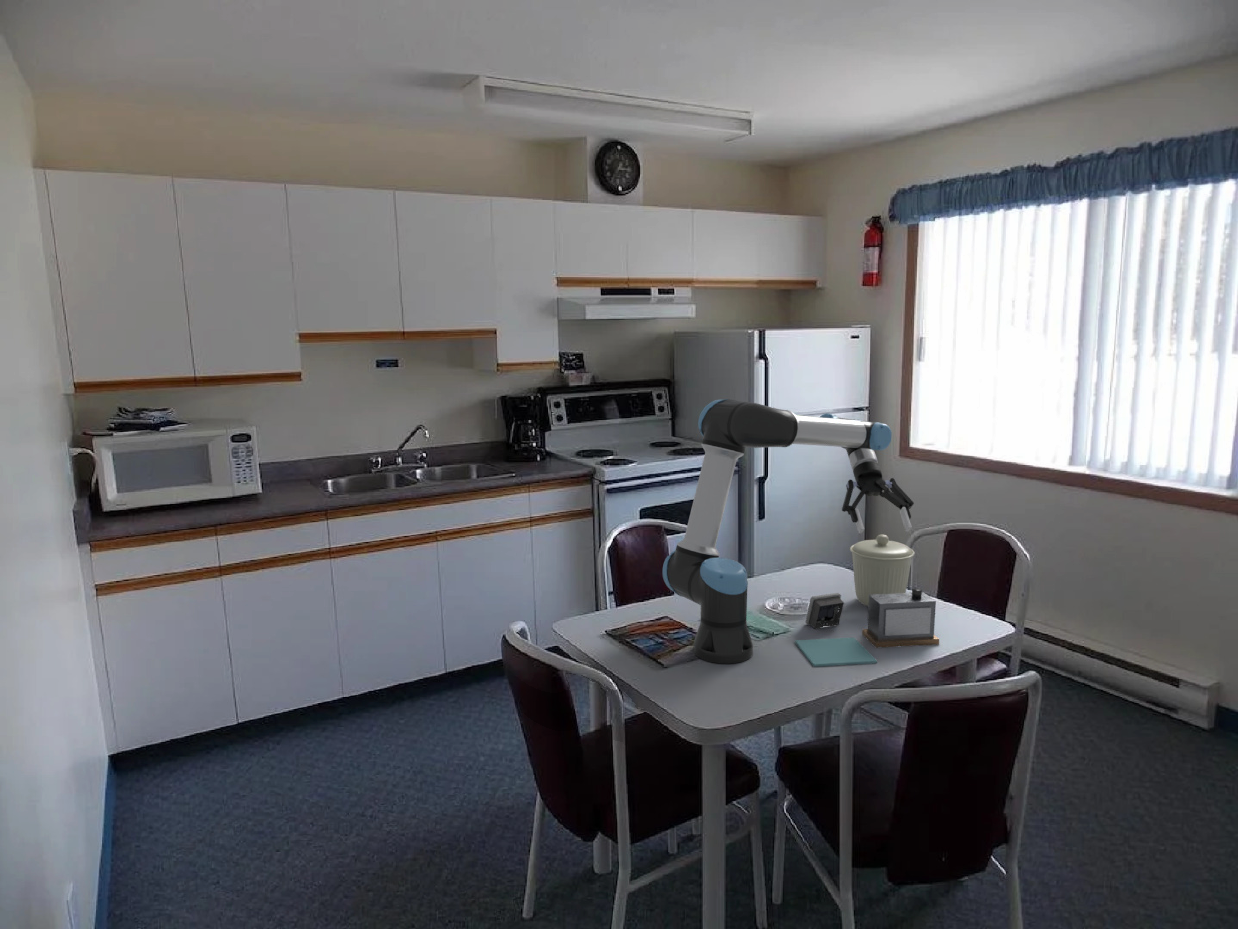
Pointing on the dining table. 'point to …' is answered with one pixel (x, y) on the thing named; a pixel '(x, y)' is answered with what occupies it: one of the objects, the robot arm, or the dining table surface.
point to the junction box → (901, 619)
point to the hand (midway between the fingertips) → (885, 530)
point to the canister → (880, 567)
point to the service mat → (835, 652)
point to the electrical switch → (824, 610)
